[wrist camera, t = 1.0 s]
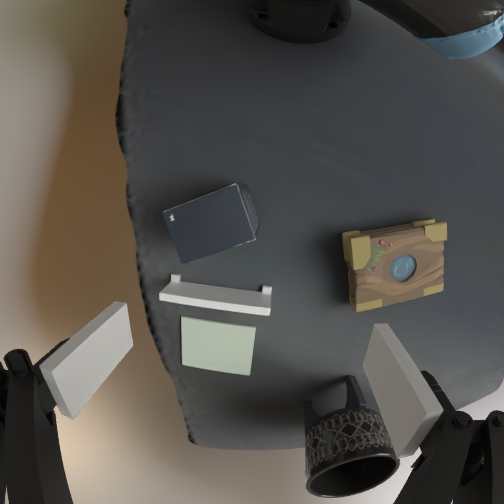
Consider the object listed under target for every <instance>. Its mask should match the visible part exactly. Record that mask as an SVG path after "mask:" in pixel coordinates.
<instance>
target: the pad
mask: <svg viewBox="0 0 504 504" xmlns="http://www.w3.org/2000/svg"><path fill="white" fill-rule="evenodd" d="M181 329H182V364H183V365H187V366H192V367H197V368H203V369H209V370H215V371H221V372H227V373H234V374H242V375H250V370H251V362H252V354H253V346H254V338H255V330H256V327H255V326H246V325H239V324H231V323H224V322H217V321H210V320H204V319H197V318H191V317H185V316H182V317H181Z"/></svg>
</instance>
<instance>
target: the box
mask: <svg viewBox="0 0 504 504" xmlns="http://www.w3.org/2000/svg"><path fill="white" fill-rule="evenodd" d="M163 216H164V219H165V221H166V224H167V227H168V229H169V232H170V235H171V237H172V240H173V243H174V245H175V248H176V251H177V253H178V256H179V258H180V260H181V263H182V264H184V263H187V262H190V261H193V260H195V259H199V258H202V257H205V256H208V255H211V254H214V253H217V252H220V251H223V250H226V249H229V248H232V247H235V246H238V245H241V244H244V243H247V242H251V241H254V240H256V236H257V233H258V229H259V226H260V222H259V220H258V216H257V213H256V211H255V207H254V205H253V201H252V198H251V195H250V192H249V189H248V186H247V185H244V184H237V183H234V184H232V185H230V186H228V187H225V188H223V189H220V190H218V191H215V192H212V193H210V194H207V195H205V196H202V197H199V198H197V199H194V200H192V201H189V202H187V203H184V204H181V205H179V206H176V207H174V208H171V209H168V210H165V211H164V212H163Z"/></svg>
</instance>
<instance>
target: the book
mask: <svg viewBox="0 0 504 504" xmlns="http://www.w3.org/2000/svg"><path fill="white" fill-rule="evenodd" d="M342 240H343V250H344V259H345V261H347V267H348V268H349V270H348V280H349V285H350V286H349V297H350V304H351V306H352V309H353V310H354V311H355V312H360V311H365V310H369V309H374V308H378V307H382V306H387V305H391V304H395V303H399V302H401V303H402V302H404V301H407V300H411V299H416V298H419V297H422V296H426V295H430V294H434V293H437V292H441V291H443V284H444V283H443V277H442V275H443V274H444V267H443V266H444V256H443V252H442V251H444V245H443V244H444V240H447V225H446V222H443V221H442V222H436V223H435V219H428V220H421V221H415V222H412V223H410V224H404V225H398V226H391V227H385V228H379V229H373V230H367V231H361V232H360V230H354V231H348V232H342Z"/></svg>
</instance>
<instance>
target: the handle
mask: <svg viewBox="0 0 504 504" xmlns="http://www.w3.org/2000/svg"><path fill="white" fill-rule="evenodd" d="M271 291H272V286H266V285H263V290H262V292H258V291H250V290H241V289H233V288H226V287H218V286H210V285H203V284H196V283H189V282H182V281H180V274H171V282H170V283H169V284H168V285H167V286H166V287H165V288H164V289H163V290H162V291H161V292H160V293H159V296H160V300H163V301H169V302H174V303H180V304H187V305H193V306H199V307H206V308H213V309H220V310H227V311H234V312H242V313H250V314H258V315H267V316H270V309H271Z"/></svg>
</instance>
